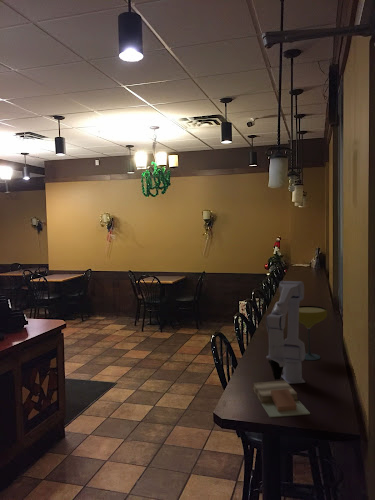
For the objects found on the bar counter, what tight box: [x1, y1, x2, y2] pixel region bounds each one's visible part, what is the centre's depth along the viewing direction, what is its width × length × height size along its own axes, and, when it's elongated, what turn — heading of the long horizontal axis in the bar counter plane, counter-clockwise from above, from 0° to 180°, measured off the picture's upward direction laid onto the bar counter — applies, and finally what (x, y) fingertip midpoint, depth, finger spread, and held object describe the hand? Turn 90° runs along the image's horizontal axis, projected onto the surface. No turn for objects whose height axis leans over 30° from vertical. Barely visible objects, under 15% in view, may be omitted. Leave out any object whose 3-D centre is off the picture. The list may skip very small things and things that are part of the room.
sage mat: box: [260, 400, 311, 419], centre depth 155 cm, size 11×15×1 cm
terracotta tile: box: [271, 389, 297, 411], centre depth 157 cm, size 9×7×2 cm
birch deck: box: [252, 380, 298, 404], centre depth 168 cm, size 14×14×3 cm
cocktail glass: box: [299, 305, 328, 361], centre depth 213 cm, size 18×18×25 cm
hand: (277, 378), depth 163 cm, fingers closed
